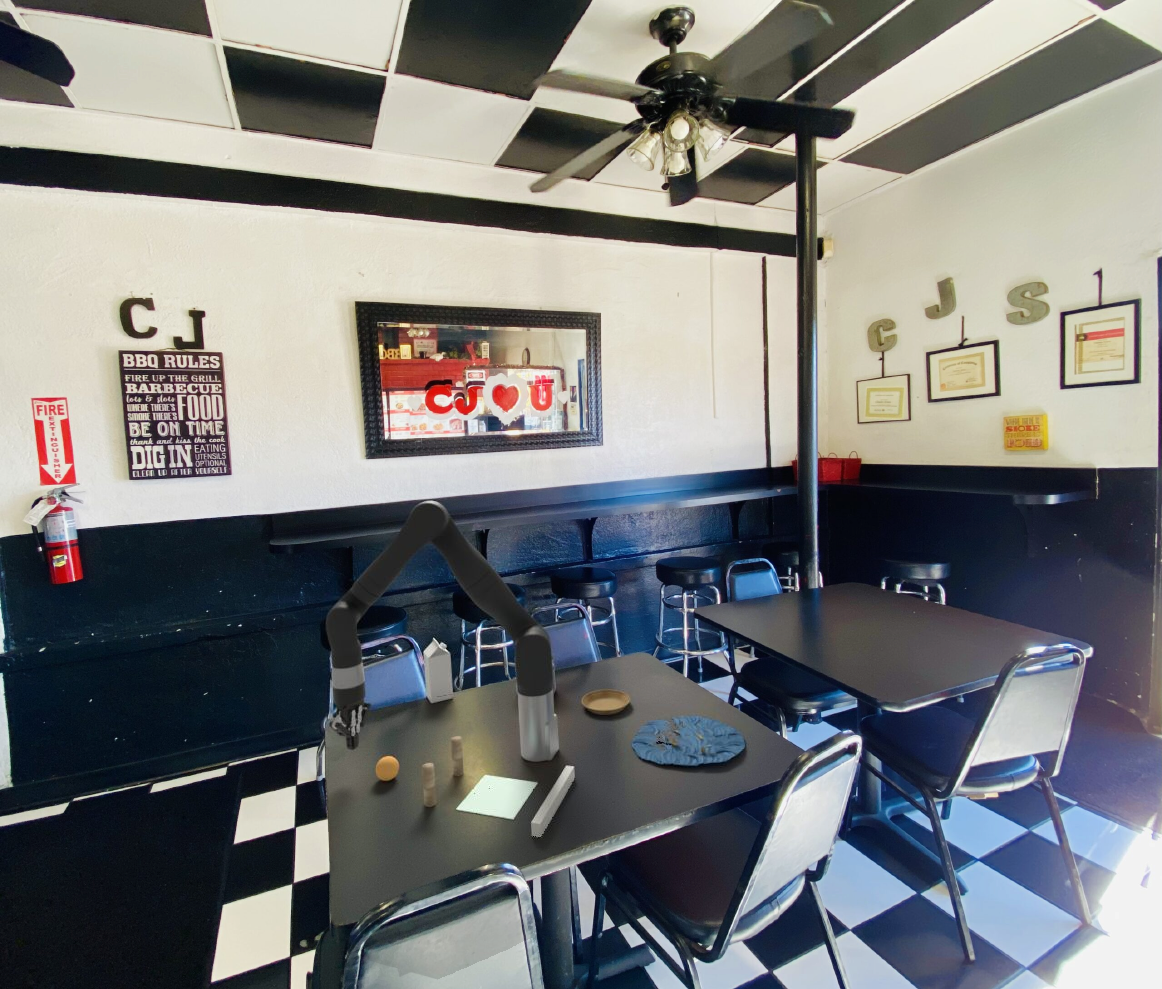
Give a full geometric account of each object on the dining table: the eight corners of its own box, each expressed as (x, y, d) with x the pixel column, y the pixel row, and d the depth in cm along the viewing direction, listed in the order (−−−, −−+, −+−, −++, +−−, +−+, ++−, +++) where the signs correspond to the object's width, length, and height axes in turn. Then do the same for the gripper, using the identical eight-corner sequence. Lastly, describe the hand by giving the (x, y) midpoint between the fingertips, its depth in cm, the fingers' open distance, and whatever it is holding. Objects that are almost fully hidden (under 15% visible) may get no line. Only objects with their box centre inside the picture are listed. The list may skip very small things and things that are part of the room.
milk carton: (431, 704, 186) (427, 646, 185) (426, 696, 192) (422, 639, 191) (453, 698, 189) (449, 641, 188) (447, 691, 196) (443, 635, 194)
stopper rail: (574, 778, 141) (574, 766, 141) (540, 838, 120) (540, 824, 120) (566, 777, 141) (566, 765, 141) (531, 836, 121) (531, 822, 120)
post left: (438, 801, 134) (435, 763, 133) (432, 808, 132) (429, 769, 131) (428, 799, 135) (426, 762, 134) (422, 806, 133) (419, 768, 132)
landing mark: (537, 783, 139) (537, 782, 139) (513, 819, 126) (513, 819, 126) (485, 775, 144) (485, 774, 144) (456, 810, 131) (456, 809, 131)
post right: (465, 771, 146) (463, 736, 145) (460, 777, 144) (458, 742, 143) (456, 770, 147) (454, 735, 146) (451, 775, 144) (448, 740, 144)
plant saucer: (574, 715, 174) (574, 706, 174) (591, 694, 188) (591, 687, 188) (622, 721, 169) (621, 712, 169) (635, 700, 183) (635, 692, 183)
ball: (404, 774, 146) (402, 753, 146) (390, 786, 141) (389, 765, 140) (385, 771, 148) (384, 750, 147) (371, 783, 143) (369, 762, 142)
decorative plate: (610, 740, 162) (608, 722, 161) (696, 712, 175) (695, 695, 175) (673, 789, 135) (672, 767, 135) (769, 751, 149) (768, 731, 149)
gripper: (342, 693, 138) (347, 764, 139) (378, 672, 150) (382, 737, 152) (316, 690, 140) (321, 759, 142) (353, 670, 153) (358, 733, 154)
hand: (353, 748), depth 147 cm, fingers closed
